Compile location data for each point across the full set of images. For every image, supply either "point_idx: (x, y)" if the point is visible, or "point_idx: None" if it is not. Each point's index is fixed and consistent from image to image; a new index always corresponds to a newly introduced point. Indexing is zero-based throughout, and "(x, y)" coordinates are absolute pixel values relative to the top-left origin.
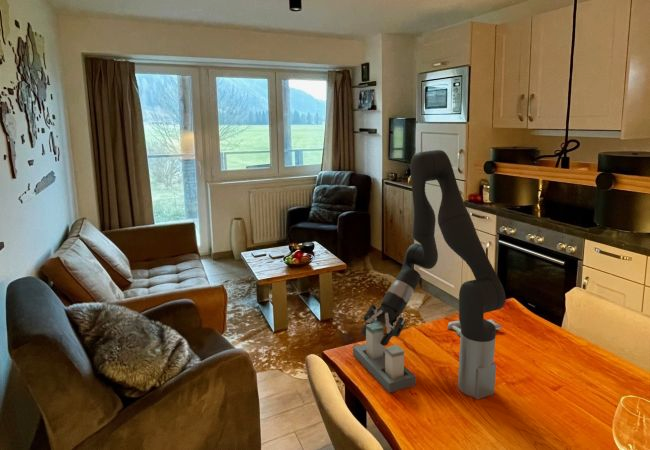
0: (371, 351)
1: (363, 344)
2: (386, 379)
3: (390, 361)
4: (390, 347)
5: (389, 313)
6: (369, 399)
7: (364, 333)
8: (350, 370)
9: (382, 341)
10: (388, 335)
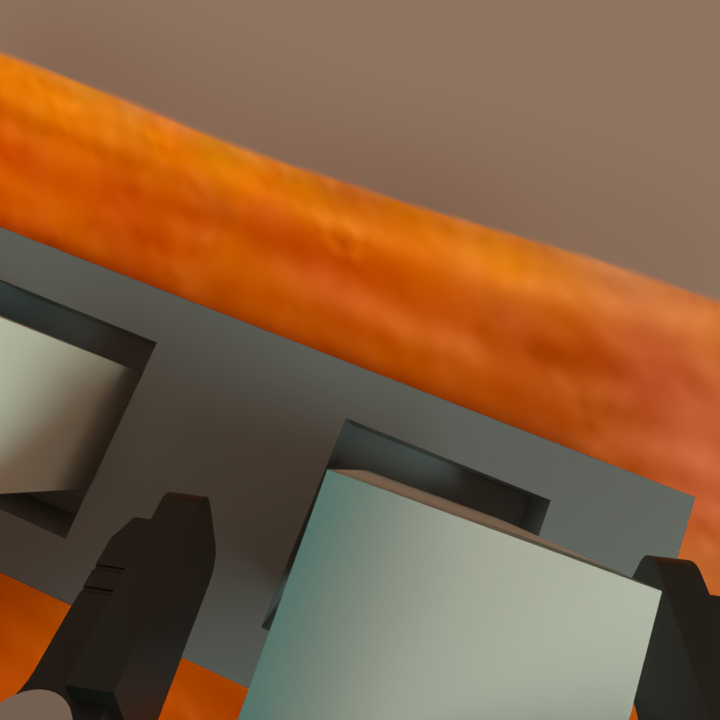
0: (384, 478)
1: None
2: (18, 246)
3: None
4: None
5: None
6: (98, 95)
7: None
8: (464, 270)
9: (153, 516)
10: (47, 673)
